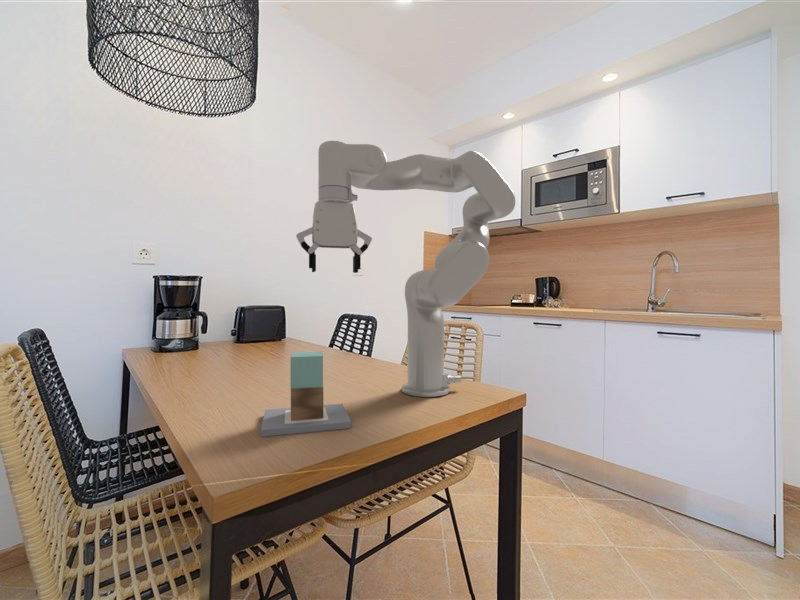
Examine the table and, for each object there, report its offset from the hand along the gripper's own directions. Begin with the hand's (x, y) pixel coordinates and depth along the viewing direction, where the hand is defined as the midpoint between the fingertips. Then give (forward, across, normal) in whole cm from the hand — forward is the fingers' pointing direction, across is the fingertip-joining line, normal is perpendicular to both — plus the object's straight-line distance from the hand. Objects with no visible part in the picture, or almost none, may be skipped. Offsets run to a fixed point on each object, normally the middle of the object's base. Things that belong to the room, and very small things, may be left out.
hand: (334, 272), depth 87 cm
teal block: (+23, +7, +12) cm, 27 cm away
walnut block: (+29, +7, +12) cm, 32 cm away
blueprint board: (+30, +7, +12) cm, 33 cm away
